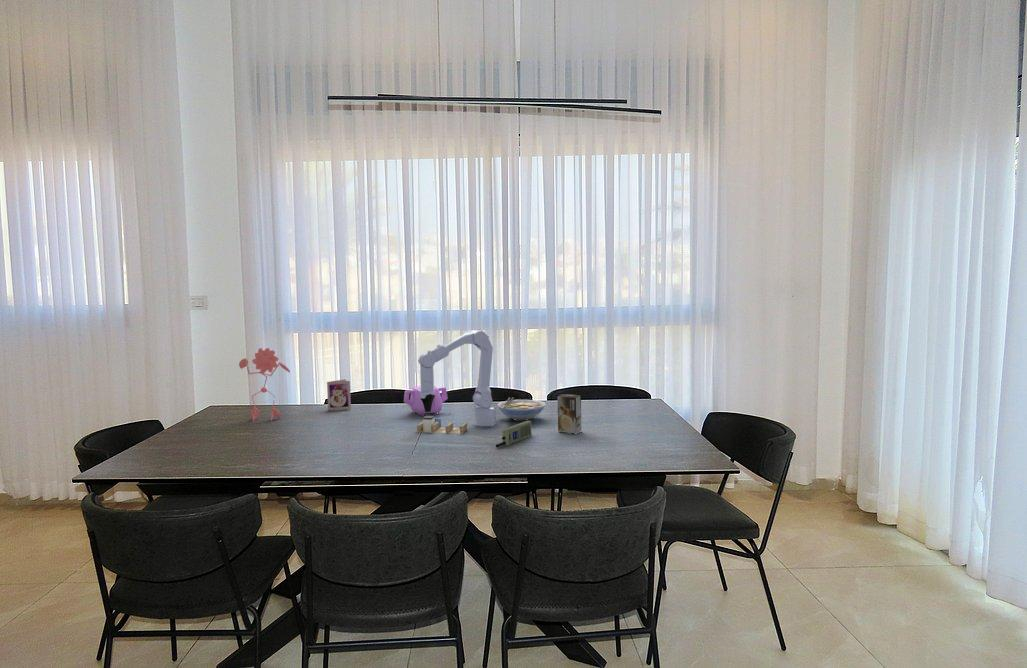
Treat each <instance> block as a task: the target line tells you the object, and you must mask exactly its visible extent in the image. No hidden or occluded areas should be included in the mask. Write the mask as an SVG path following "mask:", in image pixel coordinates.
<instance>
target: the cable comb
mask: <svg viewBox="0 0 1027 668" xmlns="http://www.w3.org/2000/svg"><path fill="white" fill-rule="evenodd" d="M434 418H435V423H434V424H433V425H432V426H431V431H423V421H421V422H420V423H418V424H417V425H416V432H417V433H427V434H429V433H430V434H456V435H457V434H459V435H460V434H461V435H463V434H464V433H465V432H467V430H469V427H468V422H464V423H462V424H461V425H460V426H459V427H454V422H452V421H450V422H449V423H448V424H446V425H445V427H442V418H441V417H434Z"/></svg>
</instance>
